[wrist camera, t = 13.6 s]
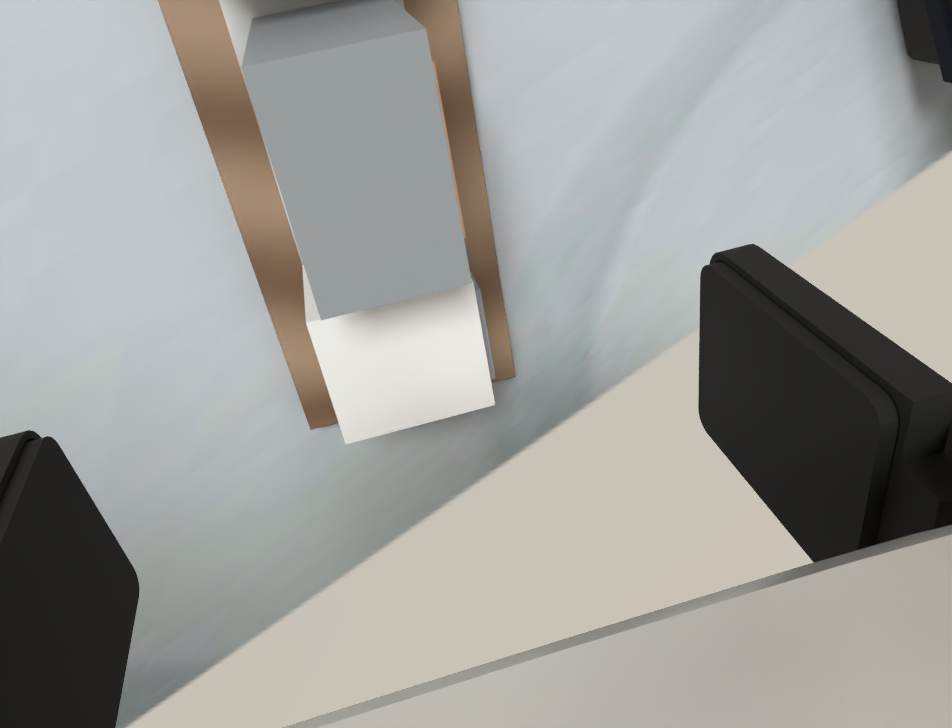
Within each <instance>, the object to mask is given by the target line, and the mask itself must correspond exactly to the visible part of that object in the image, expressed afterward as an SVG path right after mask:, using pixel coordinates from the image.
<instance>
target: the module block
mask: <svg viewBox="0 0 952 728" xmlns="http://www.w3.org/2000/svg"><path fill="white" fill-rule="evenodd" d="M241 68H242V71H243V75H244V78H245V81H246V84H247V87H248V90H249V94H250V97H251V100H252V103H253V106H254V109H255V113H256V116H257V119H258V122H259V125H260V128H261V132H262V135H263V138H264V141H265V144H266V148H267V151H268V154H269V157H270V160H271V163H272V167H273V170H274V173H275V176H276V179H277V182H278V186H279V189H280V192H281V195H282V198H283V201H284V205H285V208H286V211H287V214H288V217H289V220H290V224H291V227H292V230H293V233H294V236H295V239H296V243H297V246H298V249H299V252H300V255H301V258H302V262H303V265H304V268H305V271H306V274H307V277H308V281H309V284H310V287H311V290H312V293H313V296H314V300H315V303H316V306H317V309H318V312H319V315H320V319H321V320H325V319H329V318H333V317H337V316H341V315H345V314H349V313H353V312H357V311H361V310H365V309H369V308H373V307H377V306H382V305H386V304H390V303H394V302H398V301H402V300H406V299H410V298H414V297H418V296H422V295H426V294H430V293H434V292H438V291H442V290H446V289H450V288H454V287H458V286H462V285H466V284H470V283H472V280H471V275H470V269H469V264H468V258H467V253H466V247H465V241H464V238H466V235H465V229H464V224H463V218H462V213H461V207H460V201H459V196H458V190H457V185H456V179H455V173H454V168H453V162H452V157H451V151H450V145H449V140H448V134H447V129H446V123H445V117H444V112H443V106H442V101H441V95H440V89H439V84H438V78H437V73H436V67H435V62H434V61H433V60H432V58H431V53H430V47H429V42H428V36H427V31H426V28H425V27H424V26H423V25H422V24H420V23H419V22H418V21H417V20H416V19H415V18H413V17H412V16H411V15H410V14H409V13H408V12H407V11H405V10H404V9H403V8H402V7H401V6H400V5H398V4H397V3H396V2H395V1H394V0H338V1H333V2H328V3H323V4H319V5H314V6H309V7H304V8H299V9H294V10H289V11H284V12H280V13H275V14H270V15H265V16H260V17H255V18H252V22H251V27H250V31H249V35H248V40H247V44H246V49H245V53H244V58H243V62H242V66H241Z"/></svg>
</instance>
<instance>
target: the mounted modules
mask: <svg viewBox="0 0 952 728" xmlns="http://www.w3.org/2000/svg"><path fill="white" fill-rule="evenodd" d="M302 269H303V285H304V301H305V316H306V325H307V328H308V331H309V334H310V337H311V340H312V343H313V346H314V349H315V352H316V355H317V358H318V361H319V364H320V367H321V371H322V374H323V377H324V380H325V383H326V386H327V389H328V392H329V395H330V398H331V401H332V404H333V407H334V410H335V413H336V416H337V419H338V422H339V425H340V429H341V432H342V435H343V438H344V441H345V444H349V443H353V442H357V441H361V440H364V439H368V438H372V437H376V436H380V435H383V434H387V433H391V432H395V431H399V430H402V429H406V428H410V427H414V426H417V425H421V424H425V423H429V422H433V421H436V420H440V419H444V418H448V417H452V416H455V415H459V414H463V413H467V412H471V411H474V410H478V409H482V408H486V407H489V406H493V405H495V401H494V395H493V390H492V384H491V379H495V372H494V366H493V360H492V354H491V349H490V343H489V337H488V331H487V326H486V320H485V314H484V308H483V302H482V297H481V291H480V288H479V286H478V284H477V282H476V280H475V279H474V277H473V275H472V273H471V272H470V275H471V280H472V283H470V284H466V285H462V286H458V287H454V288H450V289H446V290H442V291H438V292H434V293H430V294H426V295H422V296H418V297H414V298H410V299H406V300H402V301H398V302H394V303H390V304H386V305H382V306H377V307H373V308H369V309H365V310H361V311H357V312H353V313H349V314H345V315H341V316H337V317H333V318H329V319H325V320H321V319H320V315H319V312H318V309H317V306H316V303H315V300H314V296H313V293H312V290H311V287H310V284H309V281H308V277H307V274H306V271H305V268H304V265H302Z"/></svg>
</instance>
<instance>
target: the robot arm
mask: <svg viewBox="0 0 952 728" xmlns="http://www.w3.org/2000/svg"><path fill="white" fill-rule="evenodd" d="M699 347H700V348H699V415H700V420H701V422H702V425H703V427H704V429H705V431H706V432H707V434H708V435H709V436H710V437H711V438H712V440H713V441H714V442H715V443H716V444H717V446H718V447H719V448H720V449H721V451H722V452H723V453H724V454H725V455H726V456H727V458H728V459H729V460H730V461H731V463H732V464H733V465H734V466H735V467H736V469H737V470H738V471H739V472H740V474H741V475H742V476H743V477H744V478H745V480H746V481H747V482H748V483H749V484H750V485H751V487H752V488H753V489H754V490H755V492H756V493H757V494H758V495H759V497H760V498H761V499H762V500H763V501H764V503H765V504H766V505H767V506H768V507H769V509H770V510H771V511H772V512H773V513H774V515H775V516H776V517H777V518H778V520H779V521H780V522H781V523H782V524H783V526H784V527H785V528H786V529H787V530H788V532H789V533H790V534H791V535H792V536H793V538H794V539H795V540H796V541H797V543H798V544H799V545H800V546H801V547H802V549H803V550H804V551H805V552H806V554H807V555H808V556H809V557H810V558H811V560H812V561H813V562H814V563H812V564H808V565H804V566H801V567H798V568H794V569H791V570H788V571H784V572H781V573H778V574H775V575H771V576H768V577H765V578H762V579H758V580H755V581H752V582H749V583H745V584H742V585H739V586H736V587H732V588H729V589H726V590H723V591H719V592H716V593H713V594H710V595H706V596H703V597H700V598H696V599H693V600H690V601H687V602H684V603H680V604H677V605H674V606H670V607H667V608H664V609H661V610H657V611H654V612H651V613H648V614H644V615H641V616H638V617H635V618H631V619H628V620H625V621H621V622H618V623H615V624H612V625H609V626H605V627H602V628H599V629H596V630H593V631H589V632H586V633H583V634H580V635H576V636H573V637H570V638H567V639H564V640H560V641H557V642H554V643H551V644H548V645H544V646H541V647H538V648H535V649H531V650H528V651H525V652H522V653H519V654H515V655H513V656H509V657H506V658H503V659H499V660H496V661H493V662H490V663H487V664H483V665H480V666H477V667H474V668H471V669H467V670H464V671H461V672H458V673H455V674H452V675H448V676H445V677H442V678H439V679H436V680H432V681H429V682H426V683H423V684H420V685H416V686H413V687H410V688H407V689H404V690H401V691H397V692H394V693H391V694H388V695H385V696H381V697H378V698H375V699H372V700H369V701H365V702H362V703H359V704H356V705H353V706H350V707H347V708H343V709H341V710H337V711H334V712H331V713H328V714H325V715H321V716H319V717H315V718H312V719H309V720H306V721H303V722H300V723H296V724H293V725H290V726H287V727H284V728H952V383H951V382H949V381H948V380H946V379H945V378H944V377H942V376H941V375H939V374H938V373H936V372H935V371H934V370H932V369H931V368H929V367H928V366H927V365H925V364H924V363H922V362H921V361H920V360H918V359H917V358H915V357H914V356H912V355H911V354H910V353H908V352H907V351H905V350H904V349H902V348H901V347H900V346H898V345H897V344H895V343H894V342H893V341H891V340H890V339H888V338H887V337H886V336H884V335H883V334H881V333H880V332H879V331H877V330H875V329H874V328H873V327H871V326H870V325H869V324H867V323H866V322H864V321H863V320H861V319H860V318H859V317H857V316H856V315H854V314H853V313H852V312H850V311H849V310H847V309H846V308H845V307H843V306H842V305H840V304H839V303H838V302H836V301H835V300H833V299H832V298H831V297H829V296H828V295H826V294H825V293H824V292H822V291H821V290H819V289H818V288H816V287H815V286H814V285H812V284H811V283H809V282H808V281H807V280H805V279H804V278H802V277H801V276H799V275H798V274H797V273H795V272H794V271H792V270H791V269H790V268H788V267H787V266H785V265H784V264H783V263H781V262H780V261H778V260H777V259H776V258H774V257H773V256H771V255H770V254H768V253H767V252H766V251H764V250H763V249H761V248H760V247H759V246H757V245H754V244H749V245H745V246H741V247H737V248H733V249H730V250H726V251H722V252H718V253H715V254H714V255H713V256H712V258H711V261H710V265H706V266H704V267H703V268H702V271H701V277H700V343H699ZM138 598H139V583H138V578H137V575H136V572H135V570H134V568H133V566H132V564H131V563H130V561H129V559H128V558H127V556H126V554H125V553H124V551H123V550H122V548H121V546H120V545H119V543H118V541H117V540H116V538H115V536H114V535H113V533H112V531H111V530H110V528H109V527H108V525H107V523H106V522H105V520H104V518H103V517H102V515H101V513H100V512H99V510H98V508H97V507H96V505H95V504H94V502H93V500H92V499H91V497H90V495H89V494H88V492H87V490H86V489H85V487H84V485H83V484H82V482H81V481H80V479H79V477H78V476H77V474H76V472H75V471H74V469H73V467H72V466H71V464H70V462H69V461H68V459H67V458H66V456H65V454H64V453H63V451H62V449H61V448H60V446H59V445H58V443H57V442H56V441H55V440H54V439H53V438H52V437H44V438H41V437H40V436H39V435H38V434H37V433H35V432H34V431H30V430H28V431H25V432H21V433H17V434H13V435H9V436H5V437H1V438H0V728H115V726H116V721H117V715H118V709H119V704H120V698H121V693H122V687H123V682H124V676H125V670H126V665H127V659H128V654H129V648H130V643H131V637H132V631H133V626H134V620H135V615H136V609H137V604H138Z"/></svg>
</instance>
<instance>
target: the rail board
mask: <svg viewBox="0 0 952 728" xmlns="http://www.w3.org/2000/svg"><path fill="white" fill-rule="evenodd" d="M333 1H338V0H158V2H159V5H160V8H161V11H162V14H163V16H164V19H165V22H166V25H167V28H168V30H169V33H170V36H171V39H172V42H173V44H174V47H175V50H176V53H177V56H178V59H179V61H180V64H181V67H182V70H183V73H184V75H185V78H186V81H187V84H188V87H189V89H190V92H191V95H192V98H193V101H194V103H195V106H196V109H197V112H198V115H199V117H200V120H201V123H202V126H203V129H204V132H205V134H206V137H207V140H208V143H209V146H210V148H211V151H212V154H213V157H214V160H215V162H216V165H217V168H218V171H219V174H220V176H221V179H222V182H223V185H224V188H225V190H226V193H227V196H228V199H229V202H230V205H231V207H232V210H233V213H234V216H235V219H236V221H237V224H238V227H239V230H240V233H241V235H242V238H243V241H244V244H245V247H246V249H247V252H248V255H249V258H250V261H251V263H252V266H253V269H254V272H255V275H256V278H257V280H258V283H259V286H260V289H261V292H262V294H263V297H264V300H265V303H266V306H267V308H268V311H269V314H270V317H271V320H272V322H273V325H274V328H275V331H276V334H277V336H278V339H279V342H280V345H281V348H282V350H283V353H284V356H285V359H286V362H287V365H288V367H289V370H290V373H291V376H292V379H293V381H294V384H295V387H296V390H297V393H298V395H299V398H300V401H301V404H302V407H303V409H304V412H305V415H306V418H307V421H308V423H309V426H310V429H311V430H312V429H316V428H319V427H323V426H327V425H331V424H335V423H339V422H338V419H337V416H336V413H335V410H334V407H333V404H332V401H331V398H330V395H329V392H328V389H327V386H326V383H325V380H324V377H323V374H322V371H321V367H320V364H319V361H318V358H317V355H316V352H315V349H314V346H313V343H312V340H311V337H310V334H309V331H308V328H307V325H306V316H305V301H304V285H303V269H302V265H303V262H302V258H301V255H300V252H299V249H298V246H297V243H296V239H295V236H294V233H293V230H292V227H291V224H290V220H289V217H288V214H287V211H286V208H285V205H284V201H283V198H282V195H281V192H280V189H279V186H278V182H277V179H276V176H275V173H274V170H273V167H272V163H271V160H270V157H269V154H268V151H267V148H266V144H265V141H264V138H263V135H262V132H261V128H260V125H259V122H258V119H257V116H256V113H255V109H254V106H253V103H252V100H251V97H250V94H249V90H248V87H247V84H246V81H245V78H244V75H243V71H242V68H241V66H242V62H243V58H244V53H245V49H246V44H247V40H248V35H249V31H250V27H251V22H252V18H255V17H260V16H265V15H270V14H275V13H280V12H284V11H289V10H294V9H299V8H304V7H309V6H314V5H319V4H323V3H328V2H333ZM394 1H395V2H396V3H397V4H398V5H400V6H401V7H402V8H403V9H404V10H405V11H407V12H408V13H409V14H410V15H411V16H412V17H413V18H415V19H416V20H417V21H418V22H419V23H420V24H422V25H423V26H424V27H425V28H426V31H427V36H428V42H429V47H430V53H431V58H432V60H433V61H434V62H435V67H436V73H437V78H438V84H439V89H440V95H441V101H442V106H443V112H444V117H445V123H446V129H447V134H448V140H449V145H450V151H451V157H452V162H453V168H454V173H455V179H456V185H457V190H458V196H459V201H460V207H461V213H462V218H463V224H464V229H465V235H466V238H464V241H465V247H466V253H467V258H468V264H469V269H470V272H471V273H472V275H473V277H474V279H475V280H476V282H477V284H478V286H479V288H480V291H481V297H482V302H483V308H484V314H485V320H486V326H487V331H488V337H489V343H490V349H491V354H492V360H493V366H494V372H495V379H491V383H492V382H496V381H500V380H504V379H508V378H511V377H515V374H514V367H513V361H512V354H511V348H510V341H509V335H508V328H507V322H506V316H505V309H504V303H503V296H502V290H501V283H500V277H499V270H498V264H497V257H496V251H495V245H494V238H493V232H492V225H491V219H490V212H489V206H488V199H487V193H486V186H485V180H484V174H483V167H482V161H481V154H480V148H479V141H478V135H477V128H476V122H475V115H474V109H473V103H472V96H471V90H470V83H469V77H468V70H467V64H466V57H465V51H464V44H463V38H462V32H461V25H460V19H459V12H458V6H457V0H394Z"/></svg>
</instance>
